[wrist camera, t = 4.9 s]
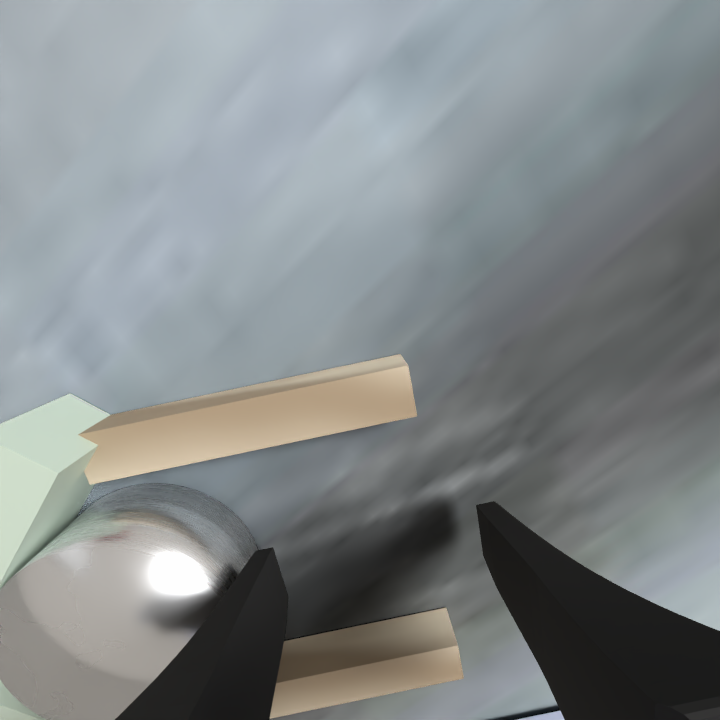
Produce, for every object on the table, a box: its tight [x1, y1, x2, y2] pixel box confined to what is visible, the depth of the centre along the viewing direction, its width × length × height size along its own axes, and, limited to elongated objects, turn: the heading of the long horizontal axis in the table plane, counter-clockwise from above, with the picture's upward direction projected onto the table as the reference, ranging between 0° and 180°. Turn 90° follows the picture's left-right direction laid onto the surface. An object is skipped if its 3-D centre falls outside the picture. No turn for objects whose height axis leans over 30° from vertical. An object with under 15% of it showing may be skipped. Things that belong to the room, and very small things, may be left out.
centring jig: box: [0, 354, 464, 720], centre depth 12 cm, size 16×18×3 cm
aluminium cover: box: [0, 483, 258, 720], centre depth 12 cm, size 7×7×3 cm
